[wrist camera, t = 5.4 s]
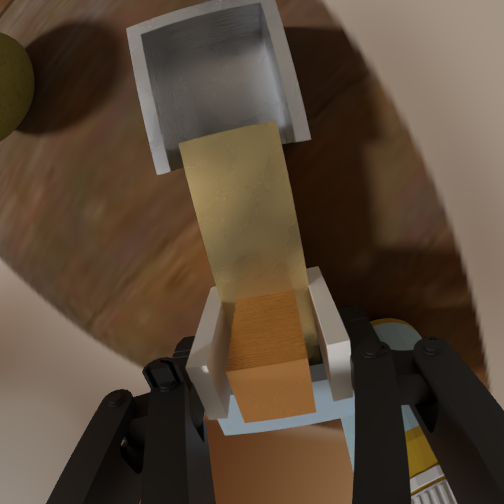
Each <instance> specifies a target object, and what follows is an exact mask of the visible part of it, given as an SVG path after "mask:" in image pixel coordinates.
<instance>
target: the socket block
mask: <svg viewBox="0 0 504 504" xmlns="http://www.w3.org/2000/svg"><path fill="white" fill-rule="evenodd" d="M317 340H318V339H317ZM318 347H319V354H320V361H321V364H317V365H312V366H309V369H310V375H311V381H312V387H313V394H314V400H315V407H316V412H315V413H310V414H304V415H299V416H293V417H287V418H280V419H273V420H266V421H259V422H250V423H244V420H243V417H242V415H241V412H240V409H239V407H238V404H237V402H236V399H235V396H234V393H233V391H232V388H231V394H230V403H229V412H228V418H224V419H218V421H219V423H220V425H221V428H222V430H223V432H224V434H225V435H235V434H245V433H254V432H263V431H270V430H278V429H284V428H291V427H297V426H303V425H308V424H314V423H319V422H324V421H329V420H334V419H338V418H343V417H347V416H351V415H355V395H354V391H353V397H352V398H347V399H343V400H339V401H334V402H333V398H332V393H331V389H330V385H329V381H328V377H327V373H326V369H325V366H324V362H323V358H322V354H321V350H320V346H319V342H318Z"/></svg>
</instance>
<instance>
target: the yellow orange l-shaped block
mask: <svg viewBox="0 0 504 504" xmlns="http://www.w3.org/2000/svg"><path fill="white" fill-rule="evenodd" d="M178 144H179V148H180V152H181V156H182V160H183V164H184V169H185V173H186V176H187V180H188V184H189V188H190V192H191V196H192V200H193V204H194V208H195V211H196V215H197V219H198V223H199V226H200V230H201V234H202V237H203V241H204V245H205V248H206V252H207V255H208V259H209V262H210V266H211V270H212V273H213V277H214V280H215V283H216V287H217V290H218V294H219V297H220V301H221V303H222V307H223V310H224V313H225V317H226V320H227V323H228V326H229V330H230V333H231V339H230V346H229V352H228V359H227V366H226V374H227V377H228V380H229V383H230V385H231V388H232V391H233V393H234V396H235V399H236V402H237V404H238V407H239V409H240V412H241V415H242V417H243V420H244V423H250V422H259V421H266V420H273V419H280V418H287V417H293V416H299V415H304V414H310V413H315V412H316V407H315V400H314V394H313V387H312V381H311V375H310V369H309V366H312V365H317V364H321V361H320V354H319V347H318V340H317V335H316V328H315V322H314V315H313V309H312V303H311V296H310V290H309V283H308V277H307V271H306V265H305V260H304V254H303V248H302V243H301V237H300V232H299V227H298V222H297V216H296V211H295V206H294V201H293V196H292V191H291V186H290V181H289V176H288V172H287V167H286V162H285V158H284V153H283V148H282V144H281V139H280V135H279V130H278V126H277V122H276V120H274V121H269V122H264V123H259V124H254V125H250V126H245V127H241V128H236V129H232V130H228V131H224V132H220V133H216V134H212V135H208V136H204V137H200V138H196V139H193V140H189V141H185V142H182V143H178Z"/></svg>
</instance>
